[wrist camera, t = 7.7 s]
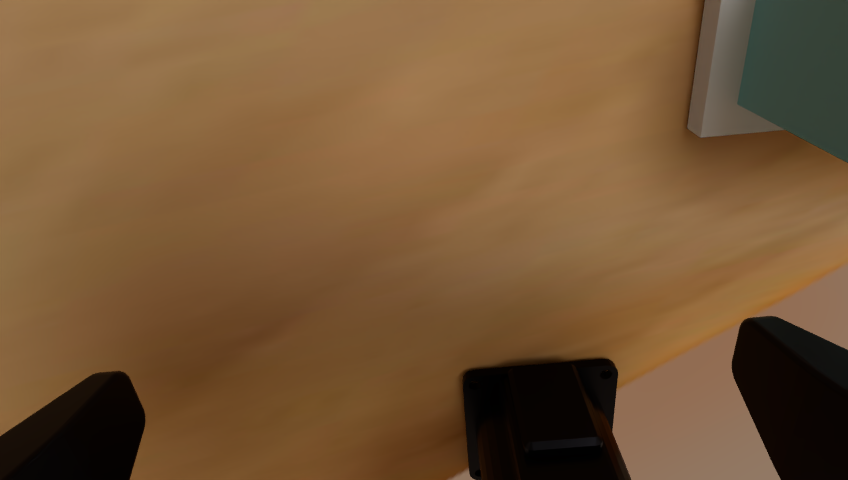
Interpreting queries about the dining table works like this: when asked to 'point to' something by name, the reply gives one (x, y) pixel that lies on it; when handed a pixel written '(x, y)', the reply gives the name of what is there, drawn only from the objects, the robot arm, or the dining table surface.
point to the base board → (723, 72)
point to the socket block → (800, 70)
